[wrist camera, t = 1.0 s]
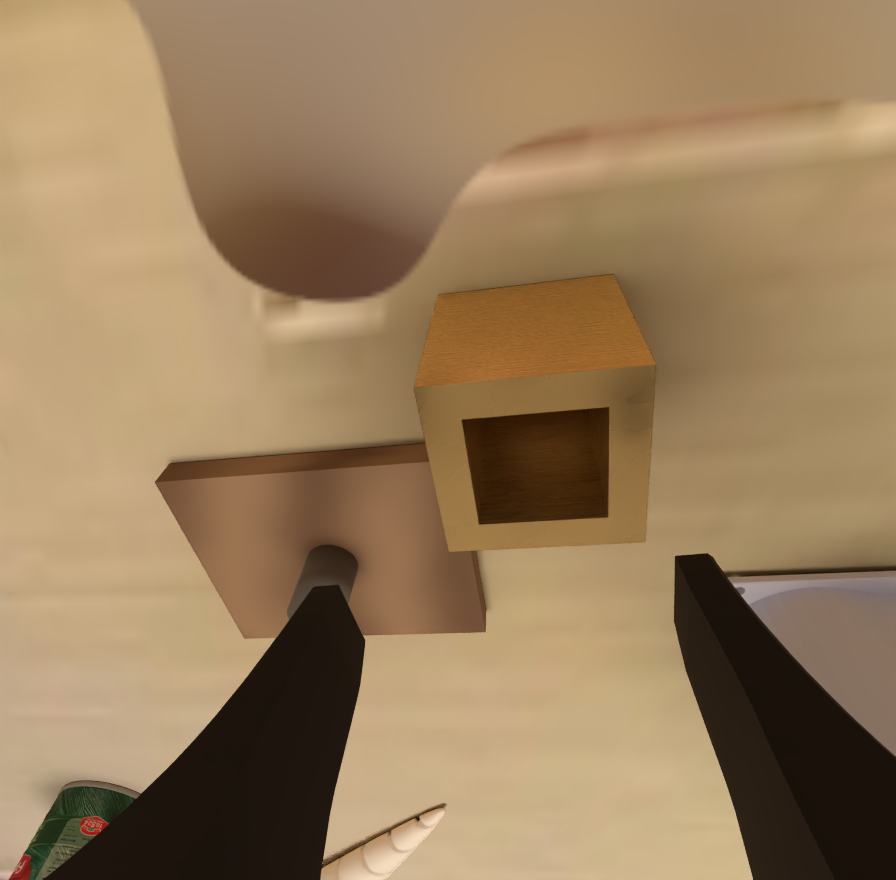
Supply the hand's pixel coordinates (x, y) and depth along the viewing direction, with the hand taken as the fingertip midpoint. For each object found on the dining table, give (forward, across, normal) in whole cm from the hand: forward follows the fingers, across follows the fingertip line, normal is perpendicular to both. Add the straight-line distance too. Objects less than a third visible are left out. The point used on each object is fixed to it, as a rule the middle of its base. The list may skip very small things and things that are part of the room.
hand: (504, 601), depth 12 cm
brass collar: (+9, -1, -1) cm, 9 cm away
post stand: (+9, +8, +7) cm, 14 cm away
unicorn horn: (+10, +18, +41) cm, 46 cm away
